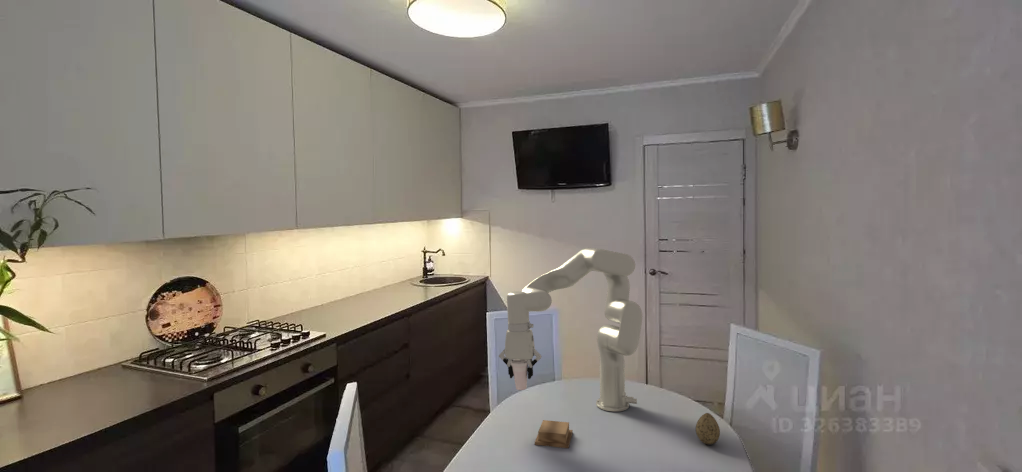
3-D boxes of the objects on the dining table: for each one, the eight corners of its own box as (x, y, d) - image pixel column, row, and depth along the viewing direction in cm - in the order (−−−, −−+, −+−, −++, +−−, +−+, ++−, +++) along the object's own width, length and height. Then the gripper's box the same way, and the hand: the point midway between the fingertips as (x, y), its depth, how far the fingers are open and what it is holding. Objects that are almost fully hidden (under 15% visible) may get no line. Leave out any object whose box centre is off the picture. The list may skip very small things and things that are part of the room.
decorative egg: (716, 439, 152) (716, 409, 152) (722, 449, 145) (722, 418, 145) (693, 437, 153) (693, 408, 153) (698, 448, 146) (698, 417, 146)
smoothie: (528, 391, 160) (526, 351, 159) (510, 391, 161) (508, 351, 160) (531, 385, 166) (529, 346, 165) (514, 384, 167) (511, 346, 167)
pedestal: (572, 432, 159) (572, 421, 158) (568, 448, 148) (568, 436, 148) (541, 429, 161) (540, 418, 161) (534, 444, 151) (534, 432, 150)
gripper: (544, 324, 164) (546, 374, 165) (498, 323, 168) (500, 372, 169) (540, 330, 157) (542, 382, 158) (492, 329, 161) (494, 379, 162)
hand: (520, 376), depth 163 cm, fingers closed on smoothie, 5 cm apart
